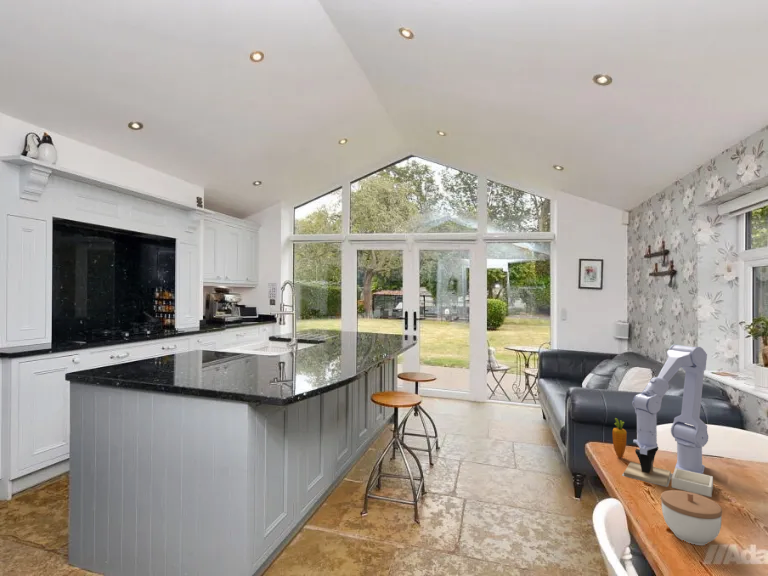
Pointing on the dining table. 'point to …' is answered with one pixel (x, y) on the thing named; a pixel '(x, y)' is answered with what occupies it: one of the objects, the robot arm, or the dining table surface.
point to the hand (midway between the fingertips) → (647, 469)
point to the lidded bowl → (691, 516)
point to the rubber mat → (651, 482)
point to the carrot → (619, 438)
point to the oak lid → (648, 474)
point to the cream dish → (692, 482)
